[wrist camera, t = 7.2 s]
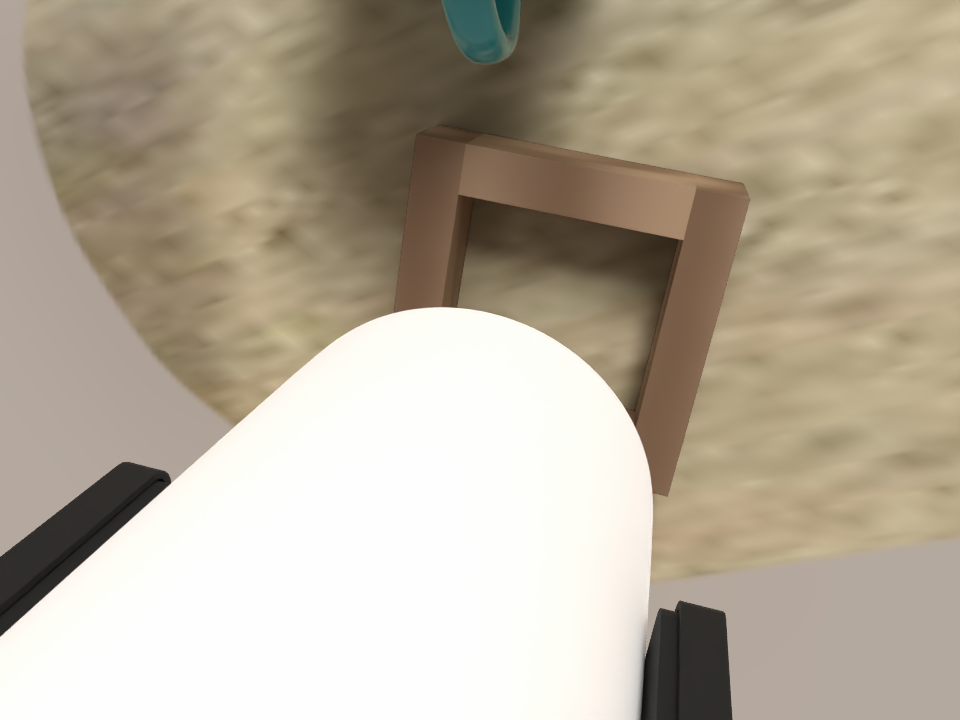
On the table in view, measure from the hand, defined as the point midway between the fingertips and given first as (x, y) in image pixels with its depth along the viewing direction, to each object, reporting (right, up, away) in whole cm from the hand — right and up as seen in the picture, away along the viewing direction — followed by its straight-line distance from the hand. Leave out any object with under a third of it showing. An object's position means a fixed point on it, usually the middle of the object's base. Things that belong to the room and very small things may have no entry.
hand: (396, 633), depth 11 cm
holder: (+4, +6, +22) cm, 23 cm away
